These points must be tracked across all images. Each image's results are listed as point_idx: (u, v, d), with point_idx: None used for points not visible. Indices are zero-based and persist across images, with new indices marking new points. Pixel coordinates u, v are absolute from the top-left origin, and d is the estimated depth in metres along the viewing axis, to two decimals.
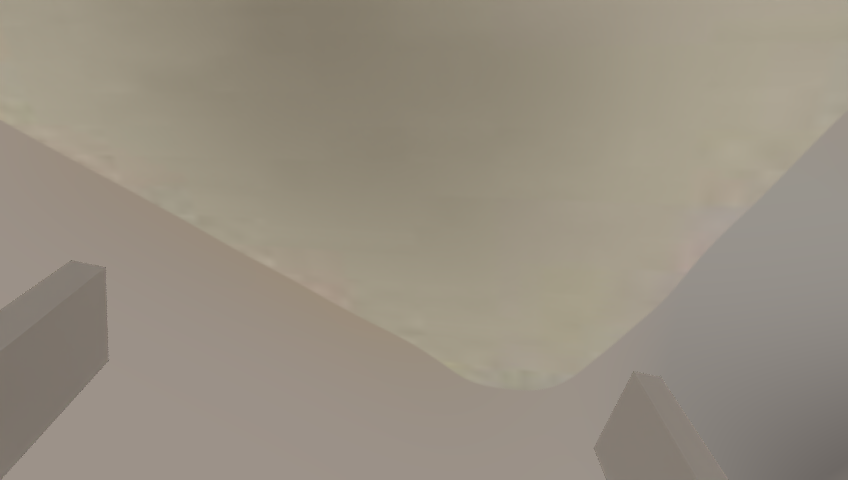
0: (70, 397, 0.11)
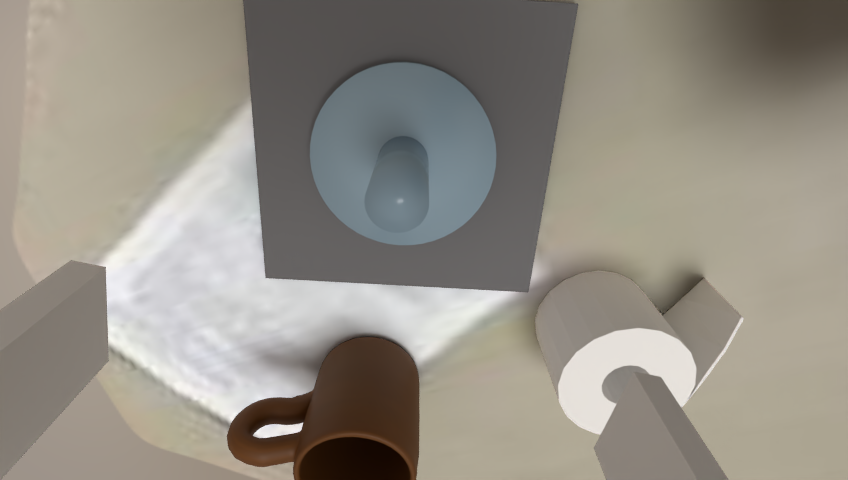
0: (70, 397, 0.11)
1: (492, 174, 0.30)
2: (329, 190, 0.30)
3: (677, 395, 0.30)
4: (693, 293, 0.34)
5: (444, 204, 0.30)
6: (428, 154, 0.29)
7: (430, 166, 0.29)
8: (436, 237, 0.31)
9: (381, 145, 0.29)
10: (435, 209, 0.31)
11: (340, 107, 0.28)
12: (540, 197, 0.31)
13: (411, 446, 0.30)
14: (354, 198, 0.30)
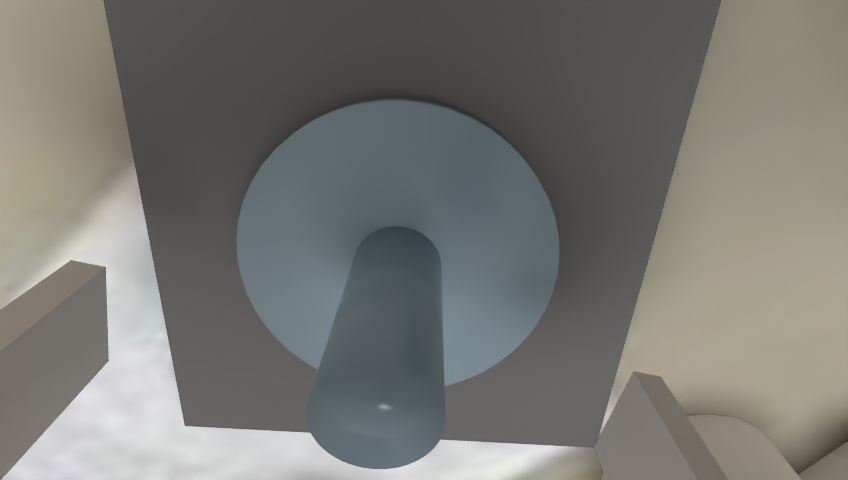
0: (70, 397, 0.11)
1: (551, 286, 0.17)
2: (274, 310, 0.18)
3: None
4: None
5: (468, 332, 0.18)
6: (441, 255, 0.17)
7: (444, 274, 0.17)
8: (454, 380, 0.19)
9: (359, 241, 0.17)
10: (453, 340, 0.18)
11: (285, 180, 0.16)
12: (625, 314, 0.19)
13: None
14: (316, 323, 0.18)
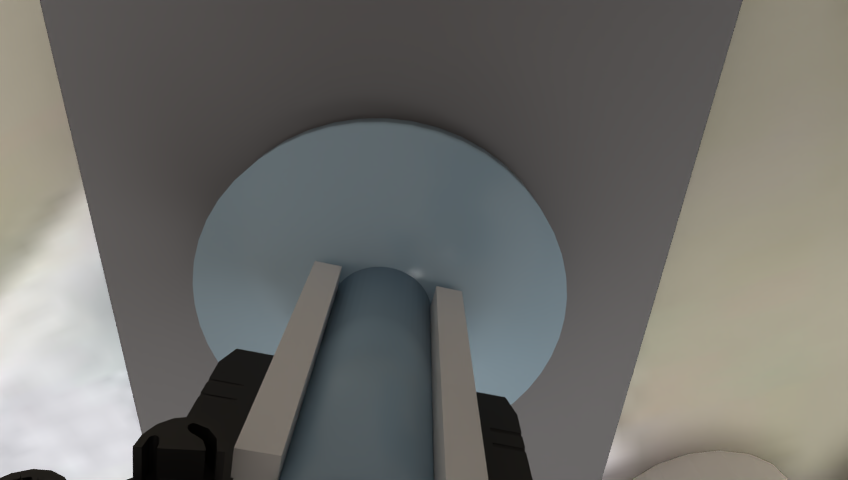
0: None
1: (557, 331, 0.15)
2: None
3: None
4: None
5: None
6: (431, 298, 0.15)
7: None
8: None
9: None
10: None
11: (247, 216, 0.13)
12: (631, 348, 0.17)
13: None
14: None
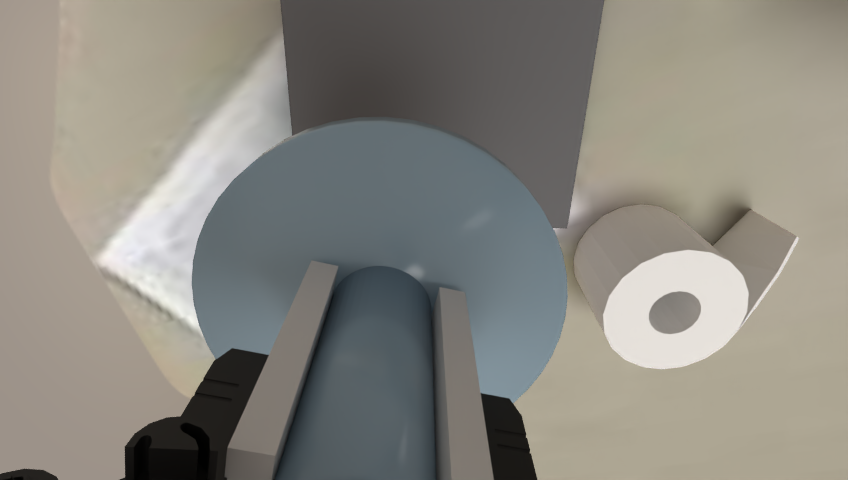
0: None
1: (557, 331, 0.15)
2: None
3: (728, 323, 0.29)
4: (739, 225, 0.33)
5: None
6: (431, 298, 0.14)
7: None
8: None
9: (336, 283, 0.14)
10: None
11: (247, 215, 0.13)
12: (579, 124, 0.30)
13: None
14: None
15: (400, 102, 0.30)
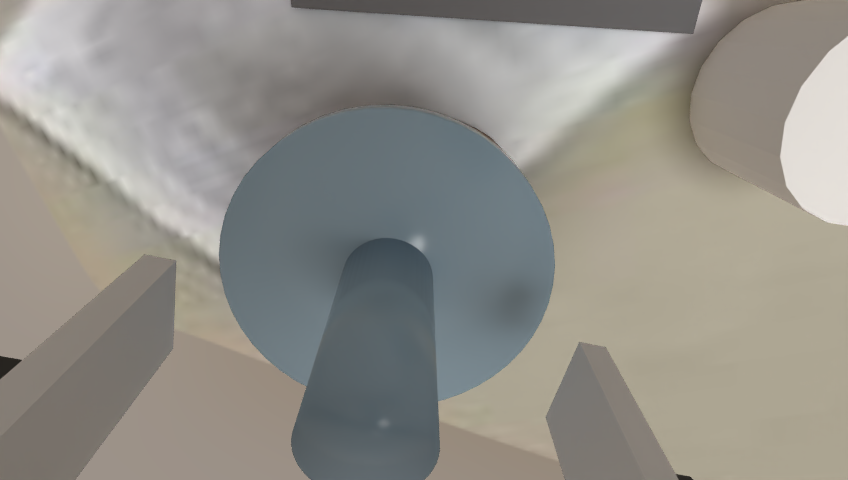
0: (145, 380, 0.12)
1: (546, 297, 0.17)
2: (260, 327, 0.17)
3: None
4: None
5: (461, 345, 0.18)
6: (432, 267, 0.16)
7: (436, 286, 0.17)
8: (448, 394, 0.18)
9: (347, 254, 0.16)
10: (446, 353, 0.18)
11: (269, 192, 0.15)
12: None
13: None
14: (305, 339, 0.17)
15: None
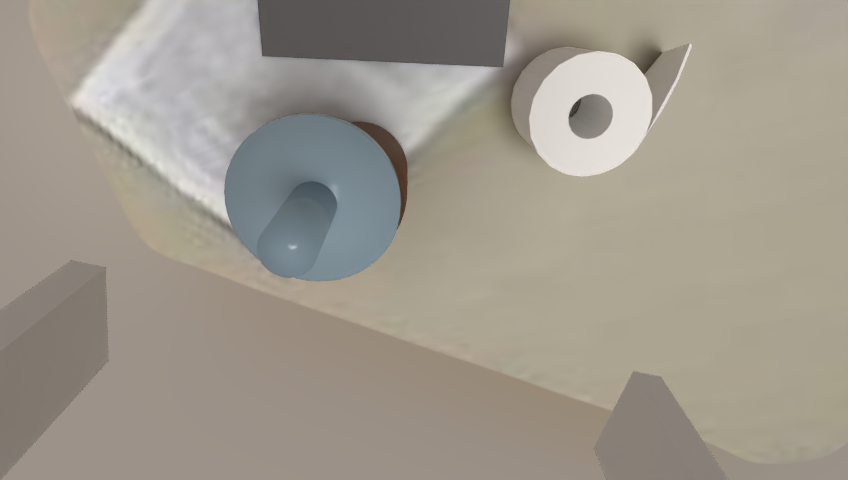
0: (70, 397, 0.11)
1: (398, 213, 0.32)
2: (246, 233, 0.32)
3: (637, 128, 0.33)
4: (652, 65, 0.38)
5: (356, 242, 0.32)
6: (336, 197, 0.31)
7: (339, 207, 0.31)
8: (352, 272, 0.33)
9: (291, 190, 0.31)
10: (348, 247, 0.32)
11: (249, 158, 0.30)
12: None
13: (399, 176, 0.33)
14: None
15: None
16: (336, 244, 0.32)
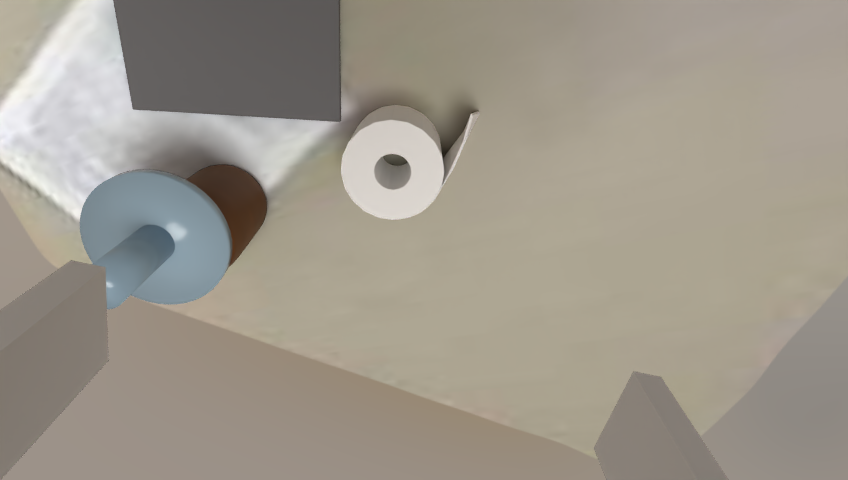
0: (70, 397, 0.11)
1: (226, 251, 0.38)
2: None
3: (433, 181, 0.40)
4: None
5: (194, 273, 0.39)
6: (173, 237, 0.38)
7: (176, 246, 0.38)
8: (194, 298, 0.40)
9: (135, 231, 0.37)
10: (189, 277, 0.39)
11: (97, 205, 0.37)
12: (335, 36, 0.41)
13: (231, 218, 0.39)
14: None
15: (199, 14, 0.40)
16: (178, 275, 0.39)
